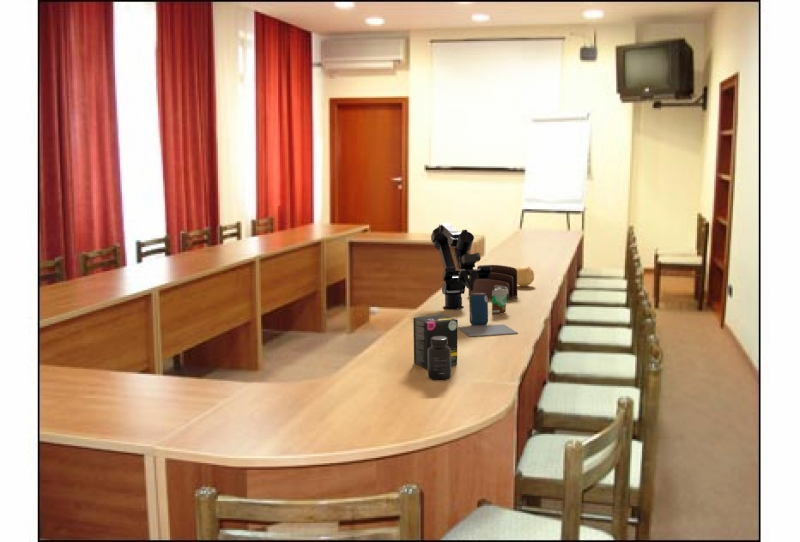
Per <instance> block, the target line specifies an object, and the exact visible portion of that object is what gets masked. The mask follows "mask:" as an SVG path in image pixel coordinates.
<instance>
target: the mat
mask: <svg viewBox="0 0 800 542" xmlns="http://www.w3.org/2000/svg"><path fill="white" fill-rule="evenodd" d="M458 330H460V331H461V332H462V333H464V335H466V336H468V337H469V338H475V337H476V336H480V337H489V336H488V335H494V336H505V335H504V334H508V335H518V333H519V332H518V331H516V330H514V329H513V328H510V327H509V326H507V325H506V324H504V323H503V324H492V325H491V324H489V325H485V326H472V325H471V326H460V327H458ZM476 338H477V337H476Z"/></svg>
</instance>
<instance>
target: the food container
mask: <svg viewBox="0 0 800 542" xmlns="http://www.w3.org/2000/svg"><path fill="white" fill-rule="evenodd" d="M507 294H508V289H507V287H504V286H497V285H494V289H493V290H492V299H491V310H492V311H491V315H500V314H499V313H503V314H505V313H506V309H507V300H506V297H507ZM504 312H505V313H504Z"/></svg>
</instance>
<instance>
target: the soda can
mask: <svg viewBox="0 0 800 542" xmlns="http://www.w3.org/2000/svg"><path fill="white" fill-rule="evenodd" d="M468 301H469V302H468V303H469V304H468V306H469V309H468V310H469V323H470V324H471V327H472V326H487V324H488V322H489V303H488V302H489V300H488V297H487V295H486V293H482V292H477V293H471V295H470V297H469V299H468Z"/></svg>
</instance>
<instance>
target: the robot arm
mask: <svg viewBox="0 0 800 542" xmlns="http://www.w3.org/2000/svg"><path fill="white" fill-rule="evenodd" d="M474 240H475V237H474V235H473V233H472V232H470V231H468V229H461V231H459V230H457V229H456V228H455V227H454V226H453V224H452V223H450V222H448V223H445V222H443V223H439V224H438V226H437V227H436V228H434V229H433V230H432V233H431V235H430V242H431V243H432V245H433V247H434V248H435V249H436V250H438V252H439V255H440V259H441V263H442V264H443V265H442V266H443V272H442V280H443V284H442V286H441V293H442V294H443V295H444V298H445V299H444V302H445V303H444V306H442V309H449V310H452V311H453V310H455V311H456V310H458V309H463V308H464V306H463V297H462V295H464V294H465V293H466V292H465V291H466V288H467V289H468V291H469V290H470V291H473V285H474V281H475V280H476V278H477V275H478V277H479V278H480V279H488V278H489V276H490V273H491V271H492V269H491V267H490V266H489V265H490V264H484V265H485V266H480V265H479V266H480V268H479V269H477V268H476V263H479V262H480V261H481V259H482V257H481V254H480V252H474V253H470V252H469V251H470V250H471V248H472V246H473V243H474ZM451 248H454V249H453V254H452V251H451V250H452V249H451ZM453 257H454V258H455V261H454V258H453ZM455 263H456V264H455ZM474 268H475V269H474Z"/></svg>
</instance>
